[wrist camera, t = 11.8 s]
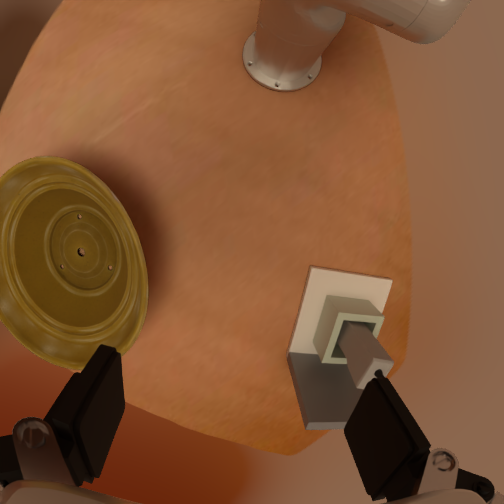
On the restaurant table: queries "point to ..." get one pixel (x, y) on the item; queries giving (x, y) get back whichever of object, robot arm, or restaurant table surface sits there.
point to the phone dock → (331, 342)
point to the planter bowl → (68, 263)
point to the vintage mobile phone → (363, 353)
